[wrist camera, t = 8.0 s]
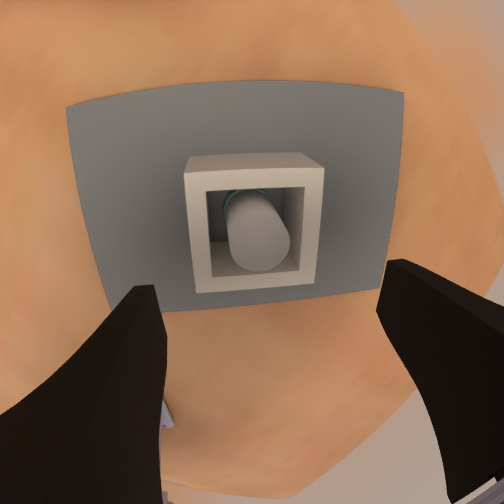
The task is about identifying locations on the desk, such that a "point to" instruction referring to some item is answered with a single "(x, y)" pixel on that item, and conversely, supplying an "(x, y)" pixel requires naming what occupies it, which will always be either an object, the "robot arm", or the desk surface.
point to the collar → (249, 177)
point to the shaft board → (238, 200)
